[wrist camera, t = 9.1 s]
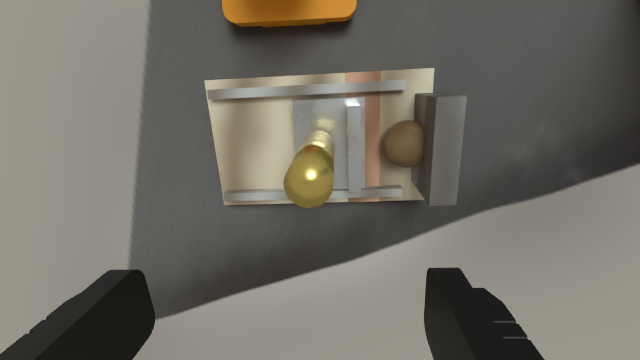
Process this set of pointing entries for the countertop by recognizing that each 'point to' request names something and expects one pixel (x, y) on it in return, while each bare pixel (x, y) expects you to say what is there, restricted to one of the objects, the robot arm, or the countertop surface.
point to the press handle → (326, 149)
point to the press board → (380, 135)
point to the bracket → (287, 12)
